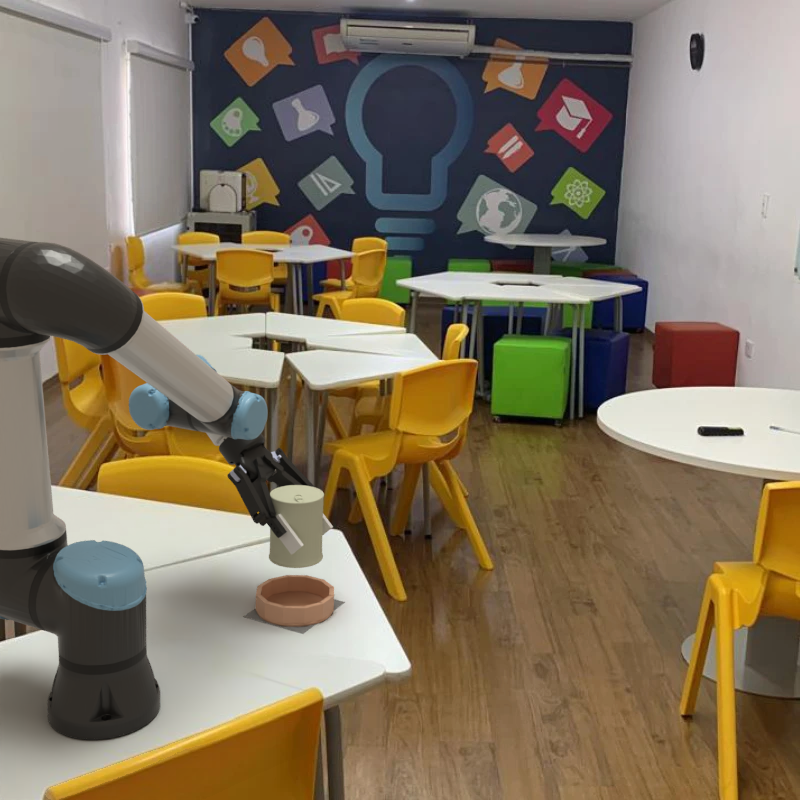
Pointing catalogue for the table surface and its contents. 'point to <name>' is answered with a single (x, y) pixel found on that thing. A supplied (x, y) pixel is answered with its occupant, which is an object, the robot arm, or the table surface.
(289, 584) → the bowl
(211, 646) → the table surface
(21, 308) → the robot arm
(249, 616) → the mat
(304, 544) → the can
